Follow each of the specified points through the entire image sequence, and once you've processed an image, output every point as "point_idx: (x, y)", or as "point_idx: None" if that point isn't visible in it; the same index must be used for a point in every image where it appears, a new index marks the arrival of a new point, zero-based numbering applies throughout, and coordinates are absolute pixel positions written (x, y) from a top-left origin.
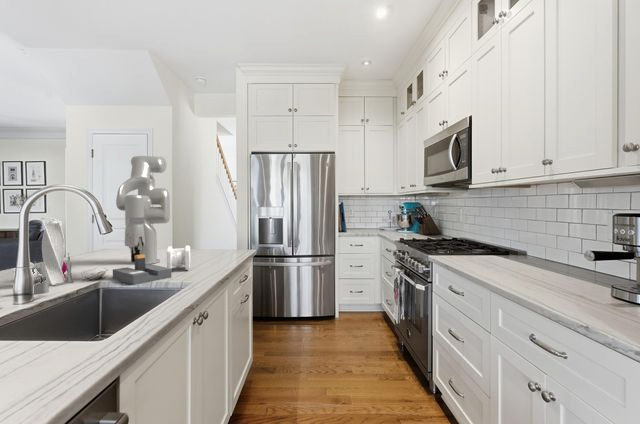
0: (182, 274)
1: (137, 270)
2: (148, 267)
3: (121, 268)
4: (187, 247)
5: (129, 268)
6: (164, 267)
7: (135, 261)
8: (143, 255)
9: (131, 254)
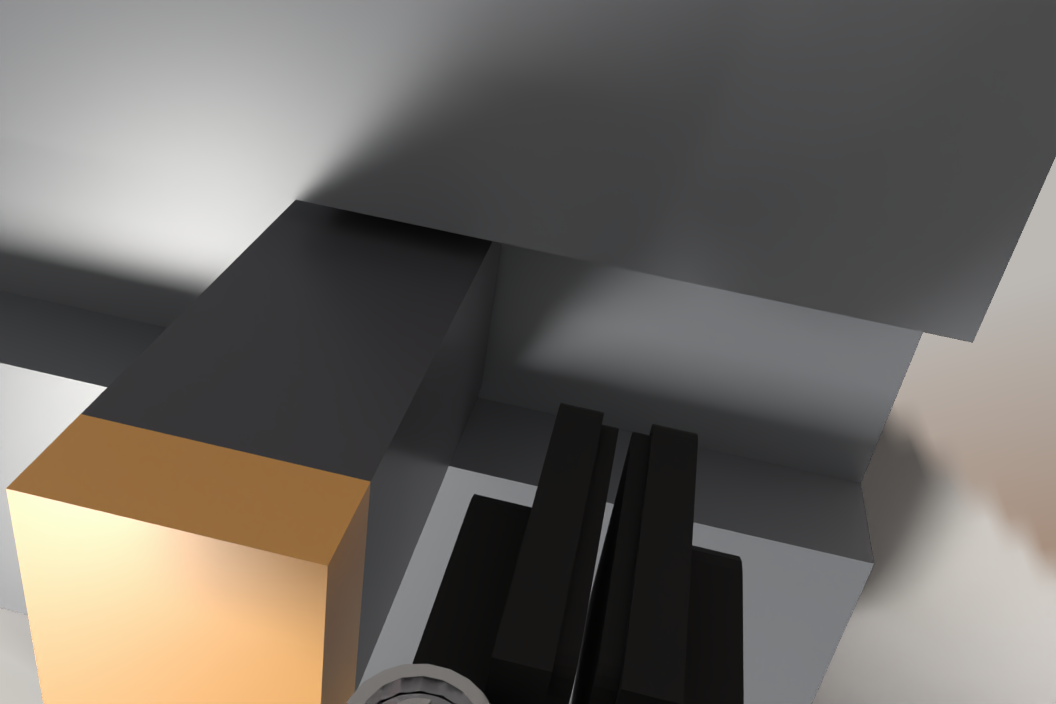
0: (21, 641)
1: (143, 125)
2: None
3: (1001, 140)
4: None
5: (704, 245)
6: (15, 600)
7: (337, 381)
8: (44, 665)
9: (639, 649)
